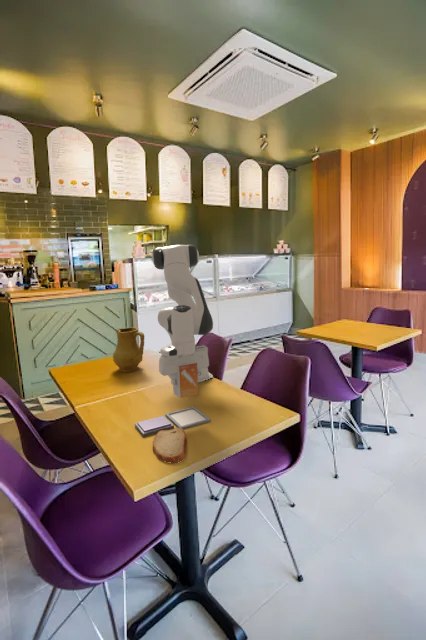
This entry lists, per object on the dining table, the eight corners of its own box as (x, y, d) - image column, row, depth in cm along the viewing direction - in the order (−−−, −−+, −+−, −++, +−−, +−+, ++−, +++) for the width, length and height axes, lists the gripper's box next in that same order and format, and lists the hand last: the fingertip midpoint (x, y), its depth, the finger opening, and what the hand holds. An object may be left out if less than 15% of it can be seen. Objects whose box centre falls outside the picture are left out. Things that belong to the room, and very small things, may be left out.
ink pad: (164, 418, 142) (163, 414, 142) (174, 428, 134) (173, 424, 134) (135, 426, 137) (134, 422, 136) (143, 436, 128) (143, 432, 128)
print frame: (193, 408, 152) (193, 406, 151) (210, 421, 139) (210, 419, 139) (165, 415, 145) (165, 413, 145) (180, 429, 132) (180, 427, 132)
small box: (180, 399, 136) (178, 366, 134) (173, 394, 141) (171, 362, 139) (198, 394, 140) (197, 362, 138) (191, 389, 145) (189, 359, 143)
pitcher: (133, 362, 225) (131, 324, 220) (150, 369, 212) (147, 329, 206) (108, 369, 214) (105, 329, 208) (124, 377, 200) (120, 334, 195)
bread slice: (176, 467, 109) (175, 456, 108) (135, 451, 119) (134, 441, 118) (209, 442, 123) (209, 432, 123) (170, 430, 133) (169, 420, 133)
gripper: (203, 342, 145) (205, 375, 147) (156, 350, 135) (158, 384, 137) (211, 345, 140) (212, 379, 142) (162, 353, 130) (164, 389, 132)
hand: (185, 382), depth 140 cm, fingers closed on small box, 8 cm apart
